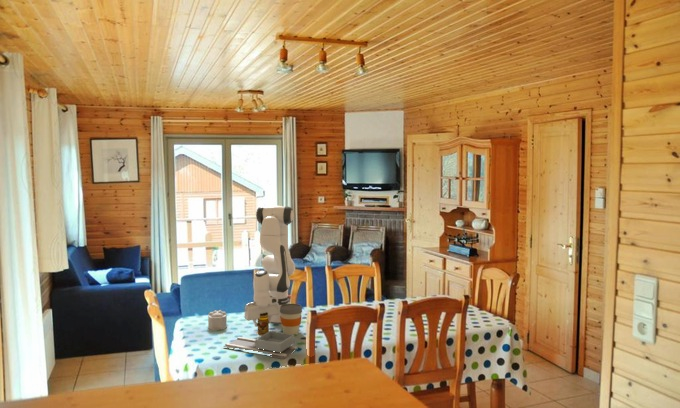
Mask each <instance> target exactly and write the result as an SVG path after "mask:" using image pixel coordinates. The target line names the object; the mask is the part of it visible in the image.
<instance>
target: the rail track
mask: <svg viewBox="0 0 680 408" xmlns="http://www.w3.org/2000/svg"><path fill="white" fill-rule="evenodd" d="M223 347H227V348H233V349H235V348H239V349H245V350H253V351H258V352H263V353H268V354H272V355H270V356H272V357H271V358H273V357H274V359H278V360H279V359H280V360H284V359H287V357H289V356H290V355H292V354H293V353H294V352H293V351H294V350H296V349H297V348H299V347H298V346H294V345H291V346H289V347H288V348H286V349H285V350H283V351H282V352H281V353H278V352H273V351H270V350H263V349H261V350H260V349H258V348H256V339H254V338H248V337H243V336H242V337H241V336H238V337H236V339H235V340H233V341H231V342H226V343H225V344H224V346H223ZM297 350H298V349H297ZM297 350H296V351H297ZM292 352H293V353H292ZM291 353H292V354H291Z"/></svg>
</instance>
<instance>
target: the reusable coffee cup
mask: <svg viewBox="0 0 680 408" xmlns="http://www.w3.org/2000/svg"><path fill="white" fill-rule="evenodd" d="M280 313H281V316H280V318H281V323H280V324H281V326H282V333H287V334H293V335H294V336H295V335H298V334H299V332H300V327H301V326H300V325H301V324H302V318H303V316H302V313H303V307H302V305H301V304H298V303H291V304H284V305H281V306H280Z"/></svg>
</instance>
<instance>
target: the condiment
mask: <svg viewBox="0 0 680 408" xmlns="http://www.w3.org/2000/svg"><path fill="white" fill-rule="evenodd" d="M257 323H258V326H257V330H256V331H253V333H254V334H256V335H258V336H259V337H260V336H262V335H264V334H266V333H267V332H269V331H270V326H269V325H270V323H269V318H268V312H266V313H262V314H260V318H259V319H257Z"/></svg>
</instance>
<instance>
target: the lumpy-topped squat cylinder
mask: <svg viewBox="0 0 680 408" xmlns="http://www.w3.org/2000/svg"><path fill="white" fill-rule="evenodd" d="M227 318H228V317H227V313H226V311H222V309H219V310H213V311H210V312H209V313H208V315H207V319H208V320H207V321H208V330H211V331H216V330H217V331H218V330H225V329H227V327H228V326H227V325H228V323H227V322H228V321H227Z"/></svg>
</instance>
